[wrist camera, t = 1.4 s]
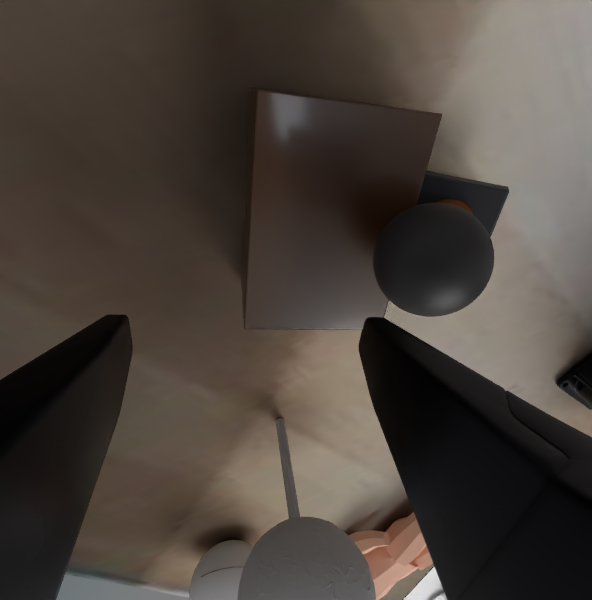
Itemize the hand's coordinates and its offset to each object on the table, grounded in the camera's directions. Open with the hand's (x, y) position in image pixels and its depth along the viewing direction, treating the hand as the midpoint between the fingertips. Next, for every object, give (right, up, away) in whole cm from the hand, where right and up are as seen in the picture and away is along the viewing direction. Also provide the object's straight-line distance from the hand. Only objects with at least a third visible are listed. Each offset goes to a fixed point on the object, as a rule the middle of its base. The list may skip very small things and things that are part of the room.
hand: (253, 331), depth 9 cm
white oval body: (-5, -23, +28) cm, 36 cm away
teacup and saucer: (+27, -42, +45) cm, 67 cm away
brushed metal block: (+2, +6, +11) cm, 13 cm away
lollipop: (0, -9, +20) cm, 21 cm away
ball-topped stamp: (+7, +6, +12) cm, 15 cm away
